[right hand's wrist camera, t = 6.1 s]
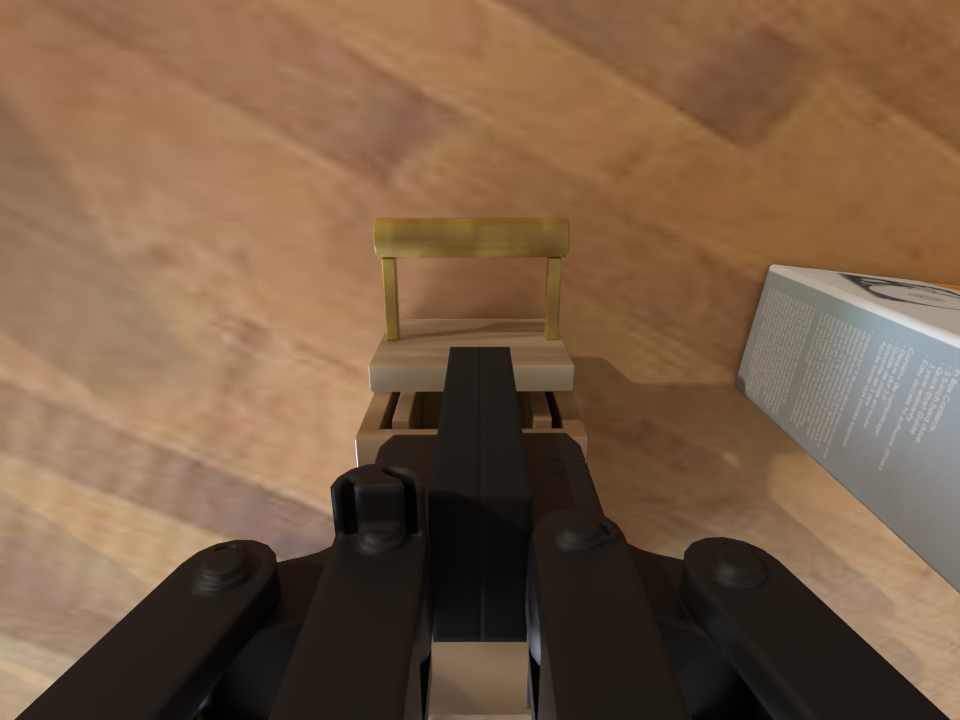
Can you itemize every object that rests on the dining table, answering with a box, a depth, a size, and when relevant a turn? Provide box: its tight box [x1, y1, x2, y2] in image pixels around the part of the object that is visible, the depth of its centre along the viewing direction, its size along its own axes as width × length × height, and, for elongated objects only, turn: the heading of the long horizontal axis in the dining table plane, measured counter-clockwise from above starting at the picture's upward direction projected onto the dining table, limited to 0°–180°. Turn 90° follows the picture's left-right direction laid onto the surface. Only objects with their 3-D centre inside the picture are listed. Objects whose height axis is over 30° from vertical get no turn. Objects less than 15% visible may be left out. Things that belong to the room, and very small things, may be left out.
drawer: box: [368, 218, 575, 429], centre depth 29 cm, size 21×9×7 cm, turn 0°
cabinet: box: [355, 391, 589, 715], centre depth 31 cm, size 16×10×9 cm, turn 0°
